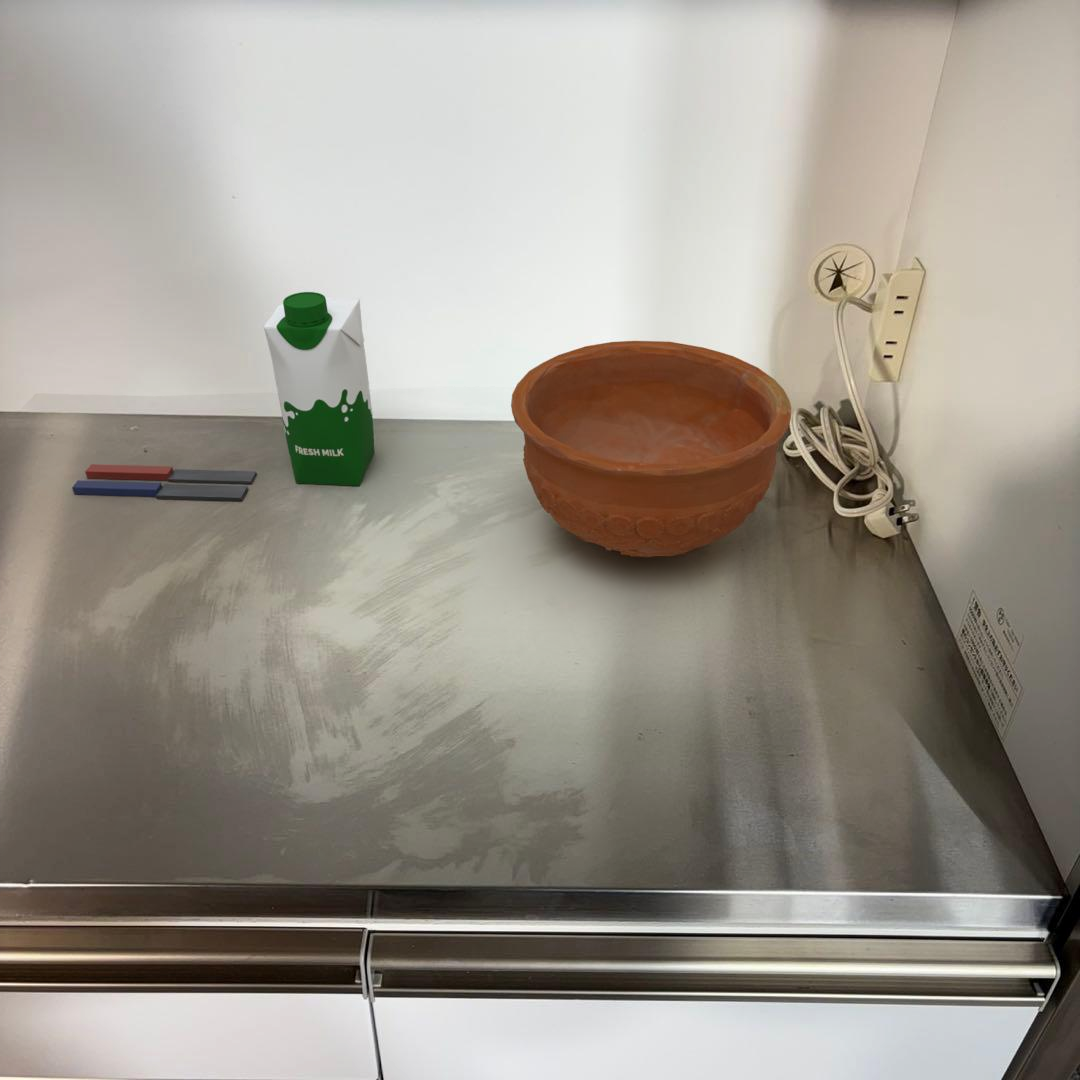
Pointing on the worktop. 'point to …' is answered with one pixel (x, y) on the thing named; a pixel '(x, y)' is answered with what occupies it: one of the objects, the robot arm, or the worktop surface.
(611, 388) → the bowl
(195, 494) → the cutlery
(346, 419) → the milk carton
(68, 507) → the worktop surface
